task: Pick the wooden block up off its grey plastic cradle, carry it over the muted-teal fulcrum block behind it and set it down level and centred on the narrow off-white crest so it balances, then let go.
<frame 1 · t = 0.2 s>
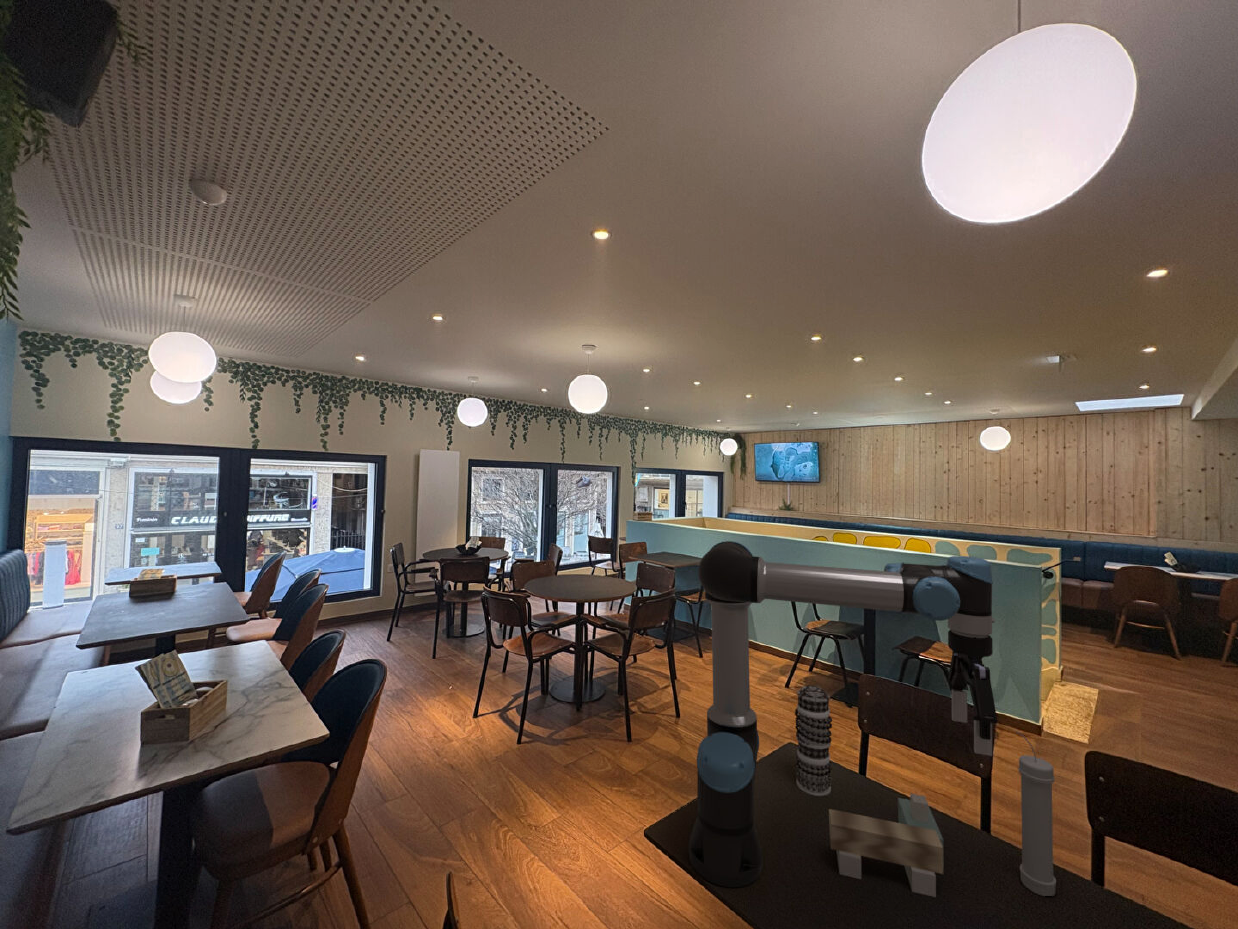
hand: (970, 736, 102), 27 cm above the table, tool pointing down, fingers open, 13 cm apart
cradle: (883, 872, 101), on the table
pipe: (1035, 887, 98), on the table
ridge: (919, 845, 109), on the table
studded grey cylinder: (813, 786, 130), on the table
wooden block: (883, 852, 101), point 4 cm above the table, touching cradle
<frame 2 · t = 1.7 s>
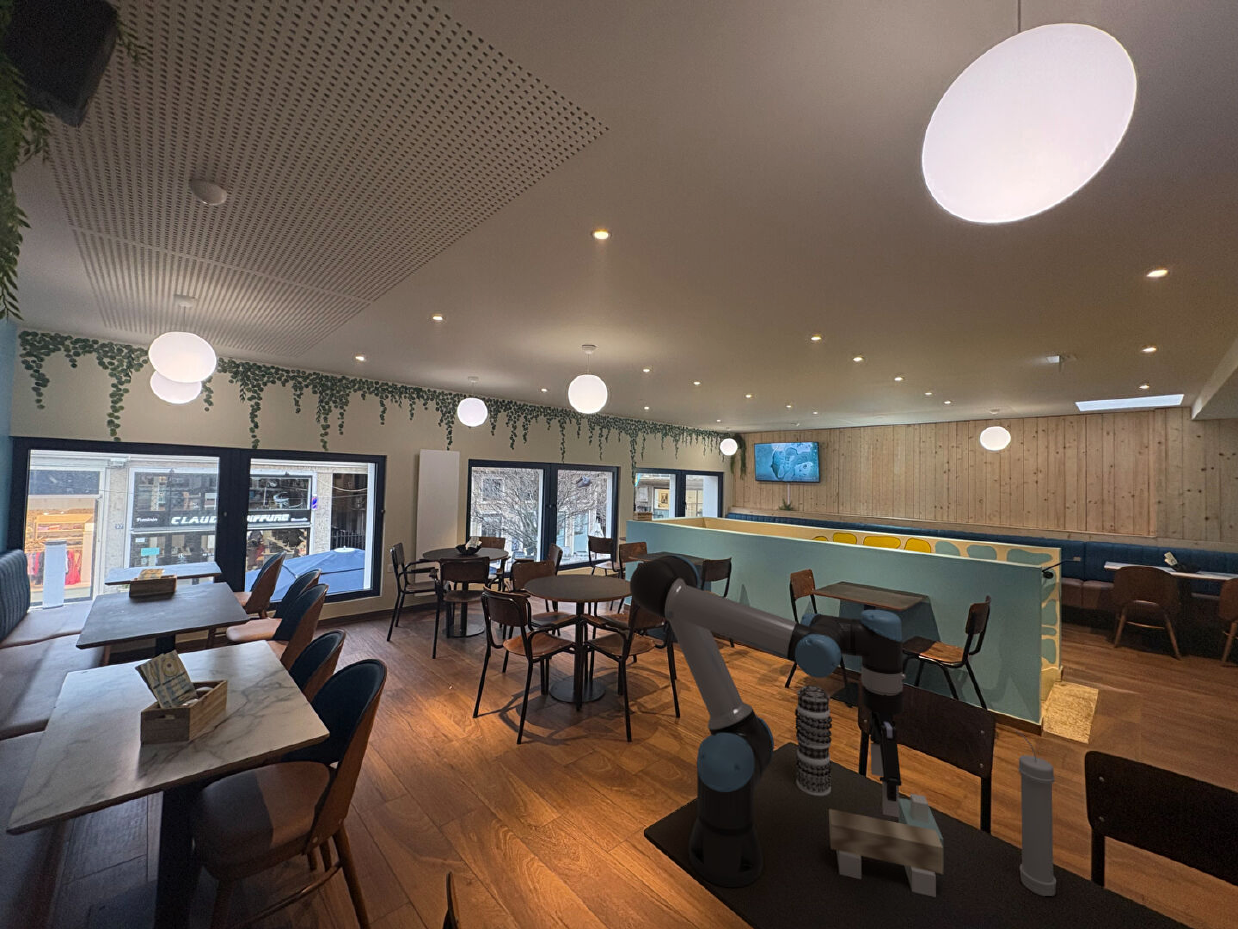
hand: (884, 793, 102), 16 cm above the table, tool pointing down, fingers open, 13 cm apart
nothing on the table moved.
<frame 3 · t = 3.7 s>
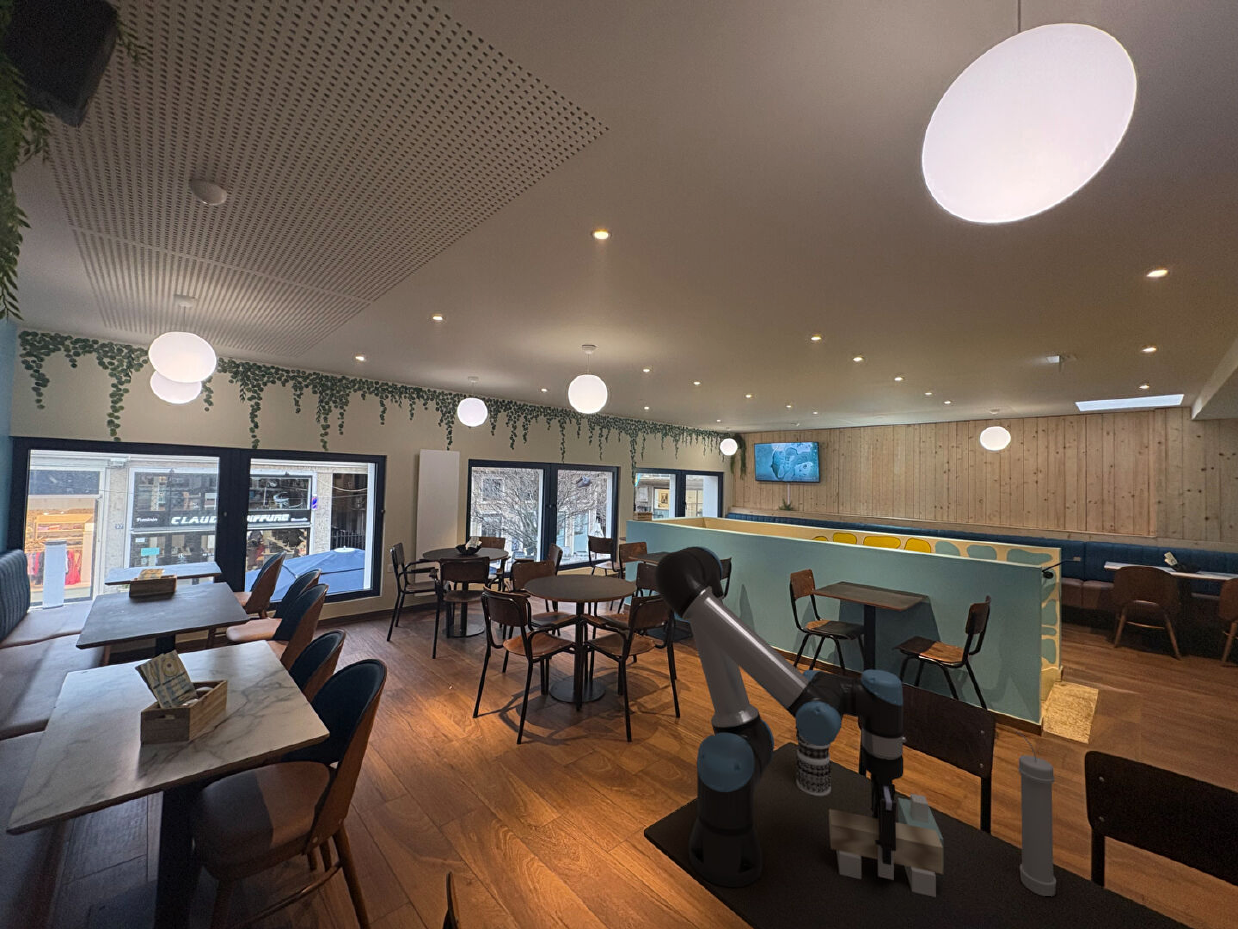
hand: (883, 866, 101), 1 cm above the table, tool pointing down, fingers closed on wooden block, 5 cm apart
wooden block: (882, 852, 101), point 4 cm above the table, touching cradle, gripper
everything else where it was.
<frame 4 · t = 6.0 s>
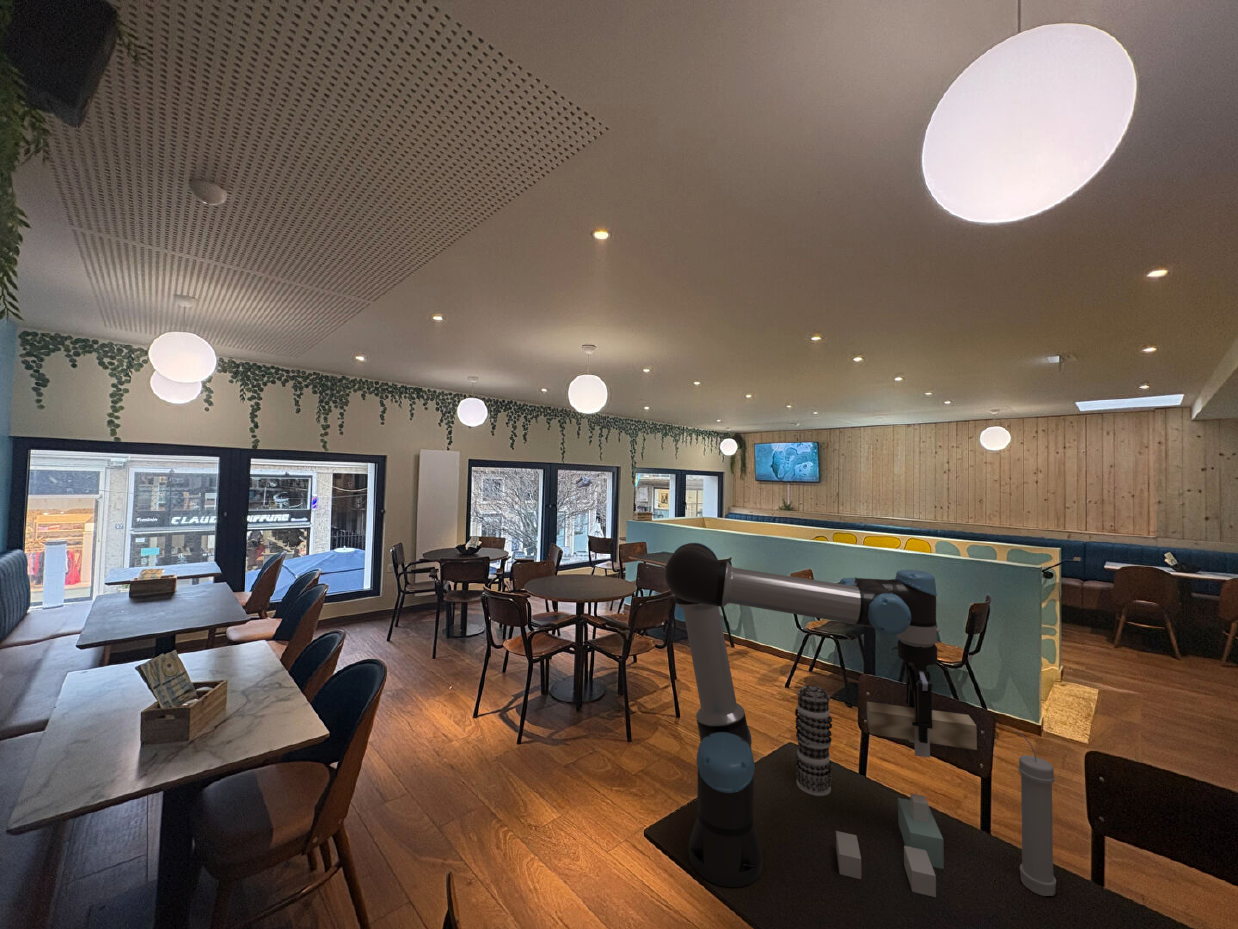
hand: (919, 748, 109), 21 cm above the table, tool pointing down, fingers closed on wooden block, 5 cm apart
wooden block: (919, 736, 109), point 24 cm above the table, touching gripper
everything else where it was.
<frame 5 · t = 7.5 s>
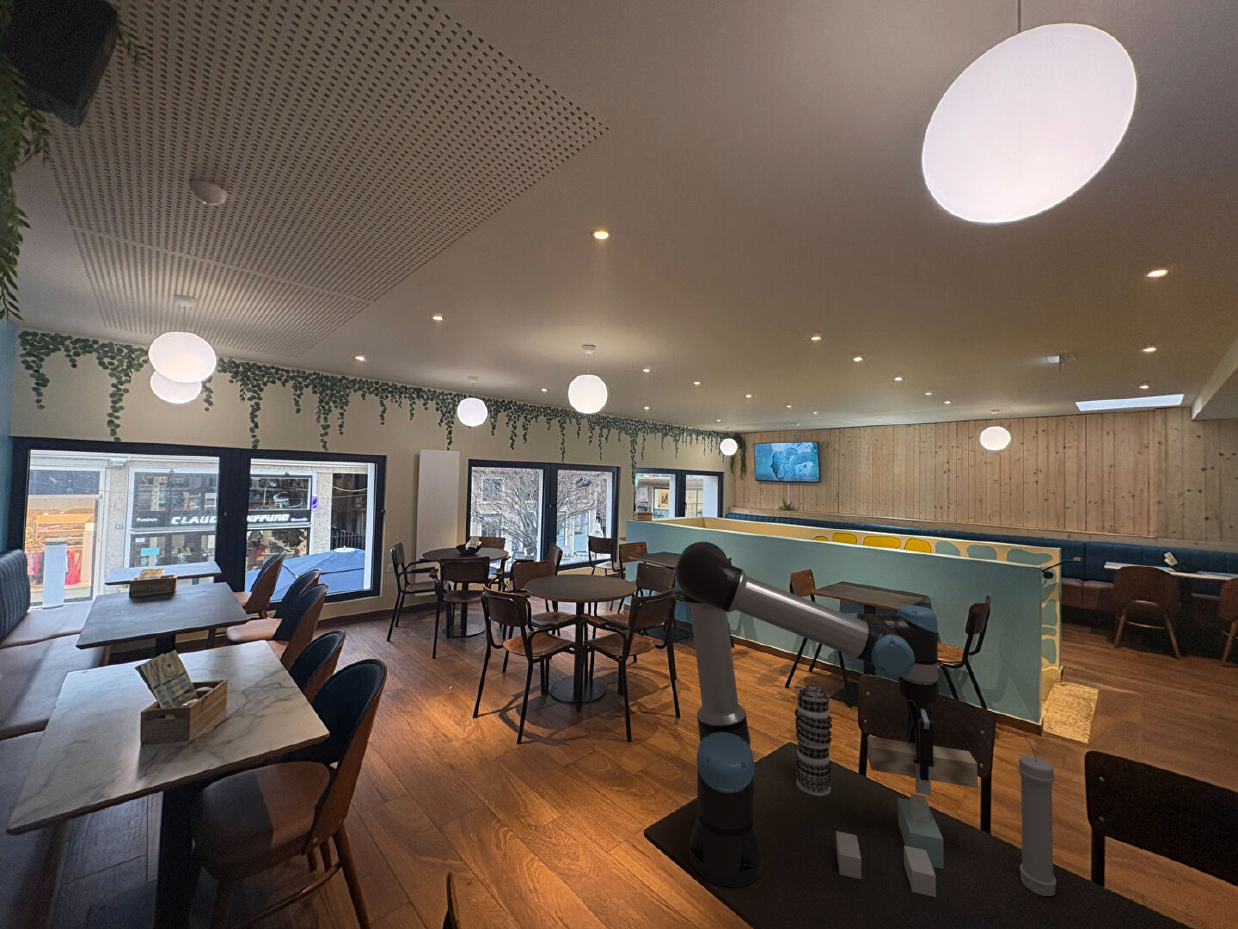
hand: (919, 785, 109), 13 cm above the table, tool pointing down, fingers closed on wooden block, 5 cm apart
wooden block: (920, 772, 109), point 16 cm above the table, touching gripper
everything else where it was.
when the fingers open (9 cm above the table, at t = 8.5 s): wooden block drops 2 cm, resting on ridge.
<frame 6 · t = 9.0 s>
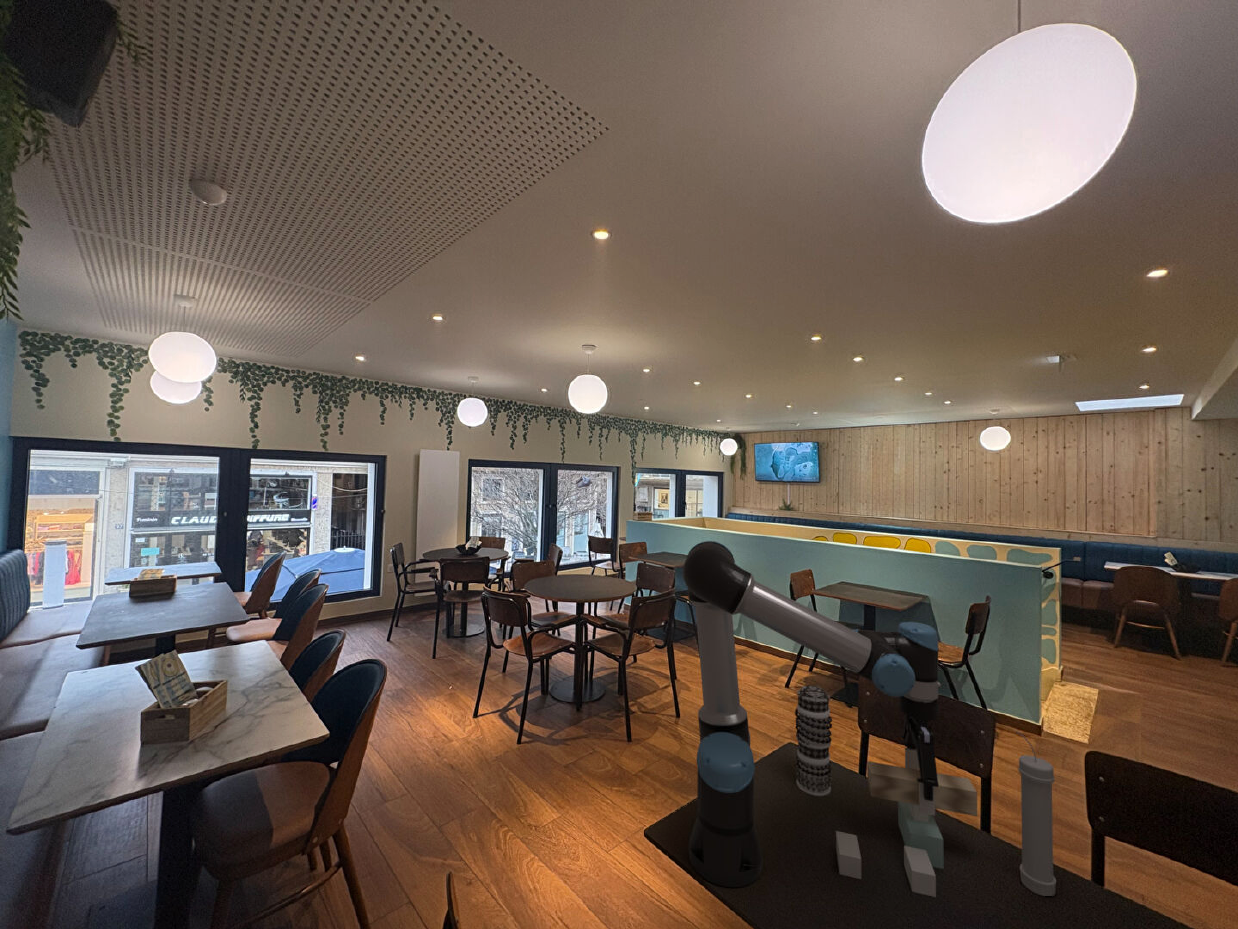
hand: (919, 794, 109), 11 cm above the table, tool pointing down, fingers open, 12 cm apart
wooden block: (919, 799, 109), point 10 cm above the table, touching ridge
everything else where it was.
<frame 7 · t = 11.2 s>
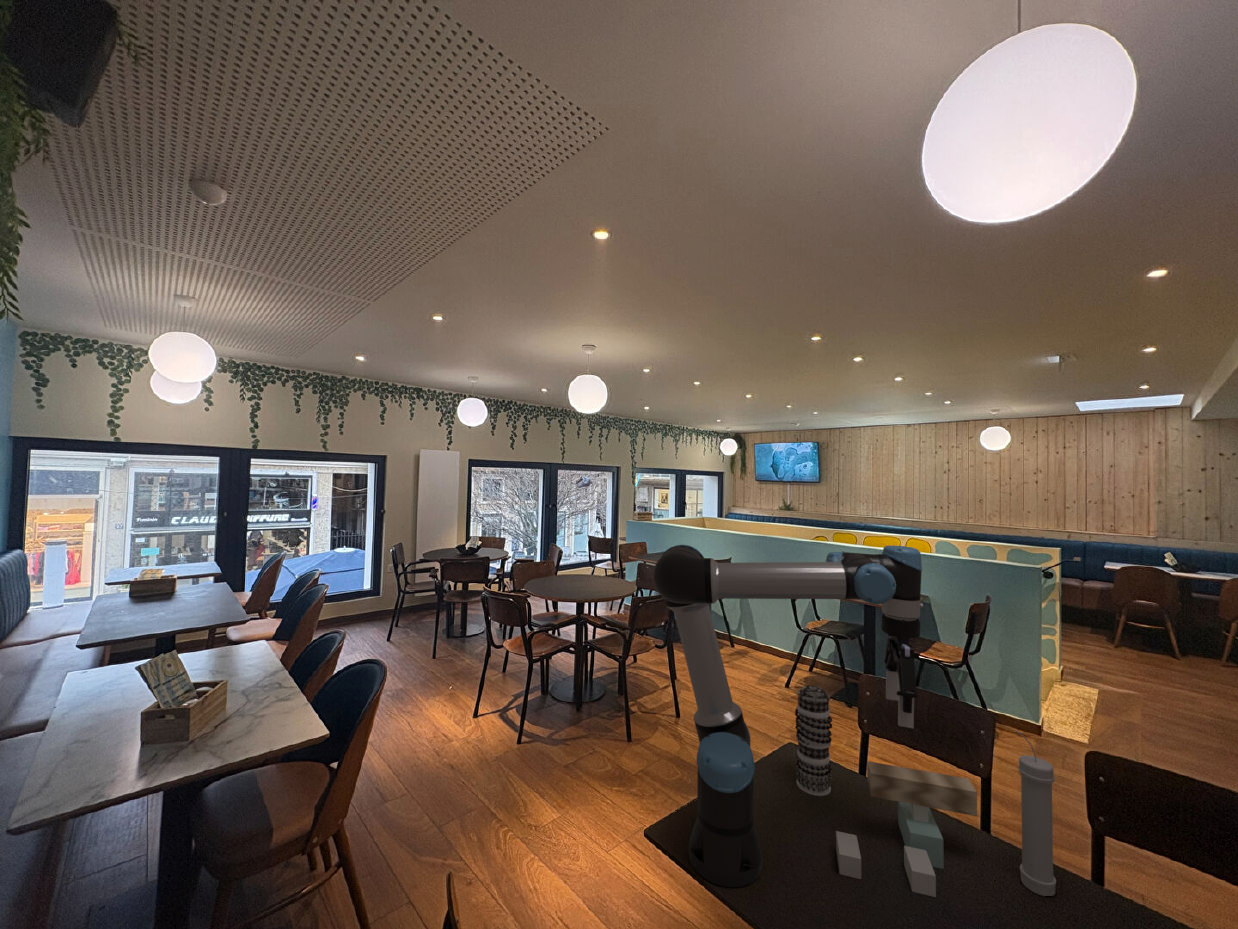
hand: (898, 712, 111), 28 cm above the table, tool pointing down, fingers open, 13 cm apart
nothing on the table moved.
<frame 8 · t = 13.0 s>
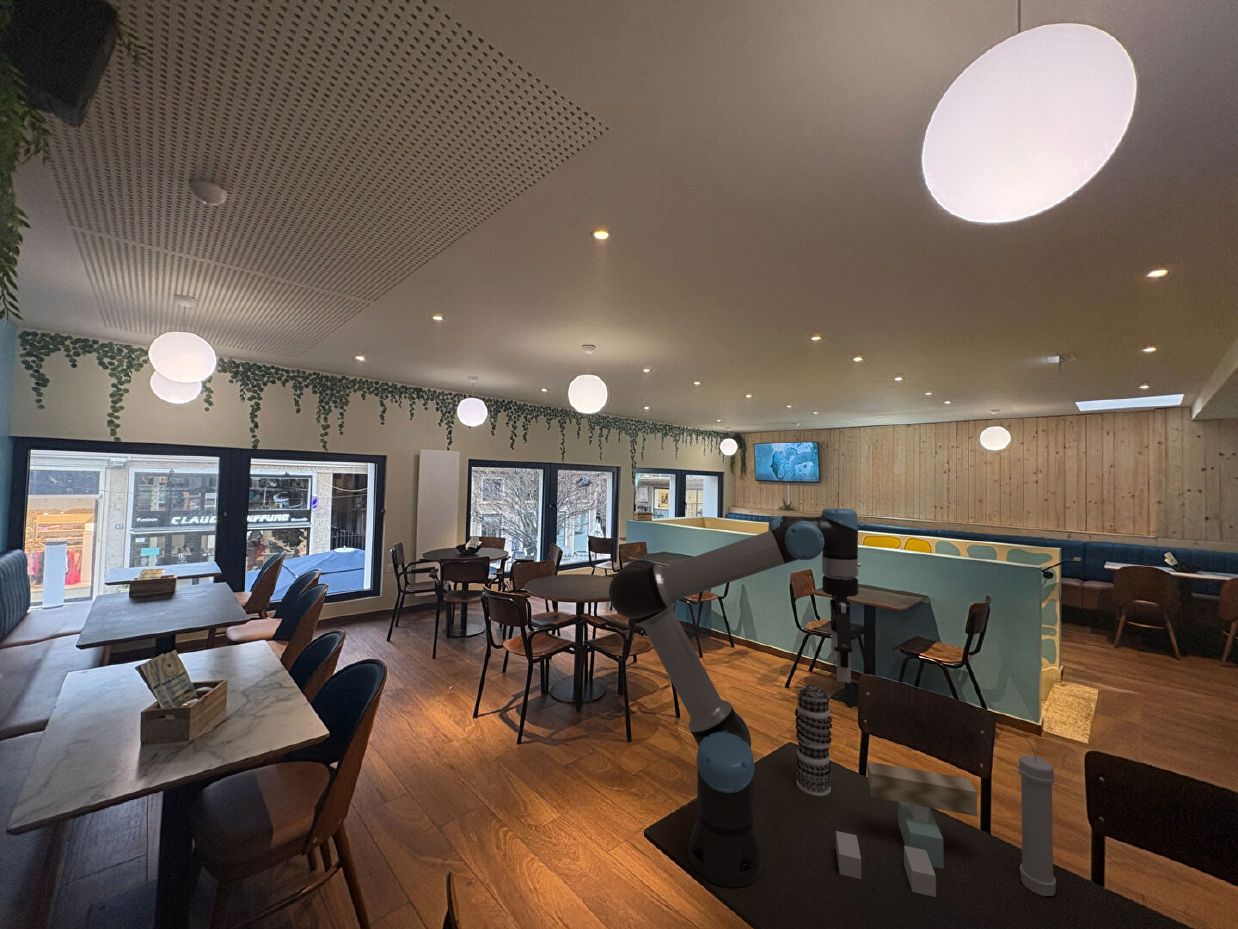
hand: (840, 670, 113), 37 cm above the table, tool pointing down, fingers open, 13 cm apart
nothing on the table moved.
at the end: wooden block 0.1 cm off-centre on the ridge, point 10.0 cm above the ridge's base; wooden block tilted 0°; wooden block touching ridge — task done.
